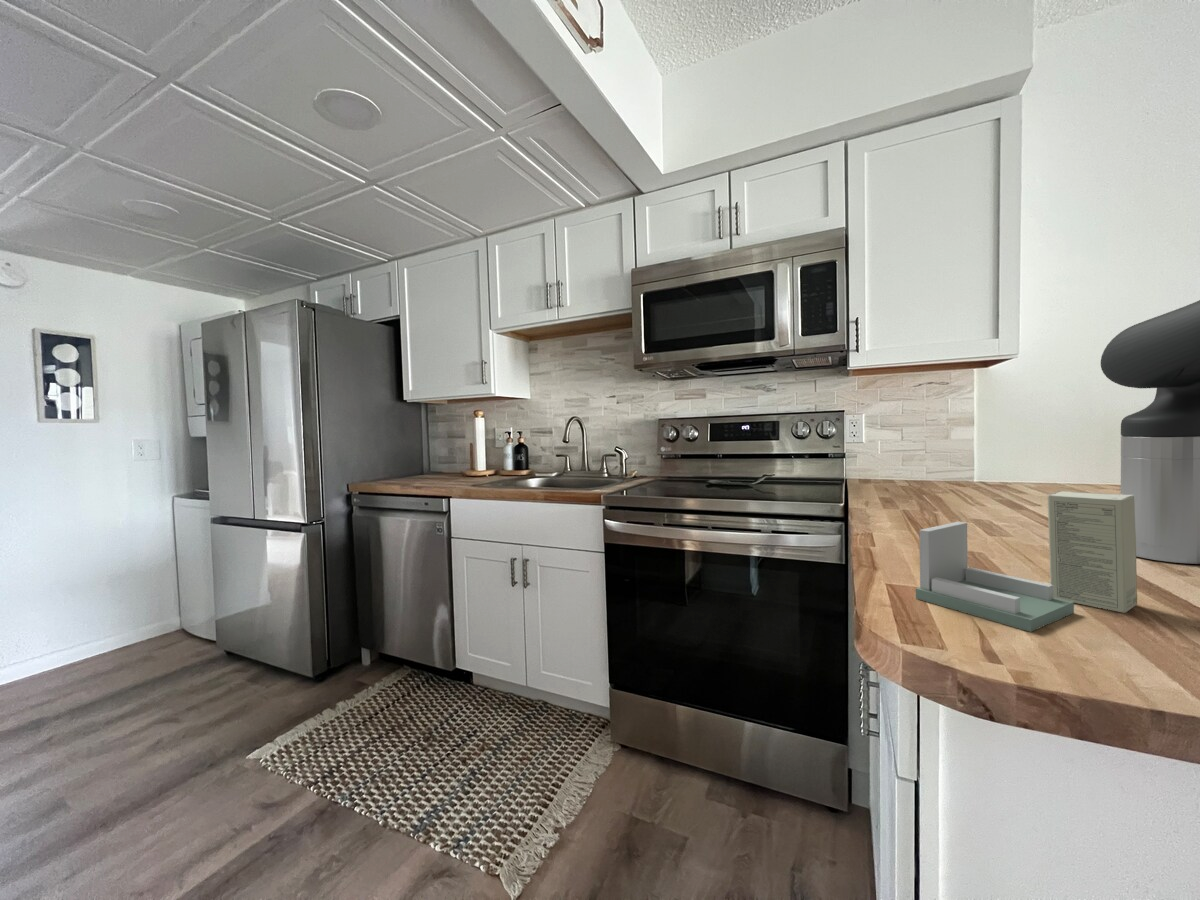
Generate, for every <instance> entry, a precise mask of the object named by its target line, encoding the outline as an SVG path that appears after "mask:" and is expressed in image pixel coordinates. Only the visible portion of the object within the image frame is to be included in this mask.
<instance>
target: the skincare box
mask: <svg viewBox="0 0 1200 900" xmlns="http://www.w3.org/2000/svg"><path fill="white" fill-rule="evenodd" d="M1046 497H1047V517H1048V518H1047V520H1048V522H1047V523H1048V544H1049V545H1048V546H1049V548H1048V549H1049V578H1050V581H1049V584H1051V585H1054V597H1055V598H1059V599H1063V600H1067V601H1072V602H1074V604H1079V605H1084V606H1089V607H1094V608H1097V607H1098V609H1101V608H1103V609H1102V610H1107V609H1108V611H1114V612H1119V613H1122V614H1123V613H1124V614H1125V613H1127V612H1128V611H1130V610H1131V609H1133V608H1135V606H1136V605H1138V582H1137V581H1138V576H1137V556H1136V531H1135V504H1134V495H1123V494H1121V493H1120V494H1119V493H1118V494H1117V493H1103V492H1102V493H1100V492H1099V493H1098V492H1083V491H1081V492H1080V491H1066V490H1063V491H1058V492H1054V493H1050V494H1047V495H1046Z"/></svg>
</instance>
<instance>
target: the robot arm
mask: <svg viewBox="0 0 1200 900" xmlns="http://www.w3.org/2000/svg"><path fill="white" fill-rule="evenodd" d="M1100 358H1101V359H1100V368H1101V371H1102V374H1103V375H1104V376H1105V377H1106V378H1107V379H1108V380H1110V382H1113V383H1114V384H1117V385H1120V386H1121V387H1127V388H1132V389H1133V388H1134V389H1156V390H1155V391H1156V393H1155V396H1154V399H1153V401H1152V402H1151V403H1150V404H1148V405H1147V406H1146V407H1145V408H1142V409H1140V410H1139V411H1136V412H1134V413H1131V414H1128V415H1126V416H1125V417H1124V418H1123V419H1121V422H1120V494H1123V495H1134V504H1135V531H1136V558H1137V557H1138V558H1143V559H1148V560H1154V561H1161V562H1166V563H1178V564H1196V565H1200V299H1199V300H1197V301H1195V302H1192V303H1189V304H1187V305H1185V306H1182V307H1179V308H1176V309H1174V310H1171V311H1168V312H1166V313H1163V314H1160V315H1157V316H1155V317H1152V318H1148V319H1147V320H1144V321H1141V322H1139V323H1135V324H1133V325H1131V326H1129V327H1127V328H1125V329H1124V330H1122V331H1120V332H1118V334H1117V335H1115V336H1114V337H1112V339H1111V340H1110V341H1109V342H1108V344H1107V345H1106V347H1105V348H1104V350H1103V352H1102V354H1101V357H1100Z"/></svg>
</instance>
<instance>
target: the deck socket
mask: <svg viewBox="0 0 1200 900" xmlns="http://www.w3.org/2000/svg"><path fill="white" fill-rule="evenodd" d="M918 531H919V532H918V534H919V587H916V588H915V599H916V600H920V601H923V602H927V603H930V604H934V605H937V606H941V607H944V608H948V609H951V610H954V611H957V610H959V611H958V612H960V613H964V612H965V613H964V614H967V613H968V615H971V616H975V617H978V618H982V619H985V620H989V621H992V622H995V623H999V624H1002V625H1006V626H1009V627H1012V628H1016V629H1019V630H1022V631H1027V632H1031V633H1032V632H1034V631H1036V630H1035V629H1037V628H1039V627H1041V628H1043V627H1044V626H1043V625H1046V624H1048V625H1050V624H1053V623H1055V622H1056V620H1057V621H1059V620H1061V618H1062V619H1064V618H1066V617H1068V616H1071V615H1073V614H1074V613H1075V603H1074V602H1072V601H1067V600H1063V599H1059V598H1055V597H1054V585H1051V584H1050V583H1045V582H1040V581H1036V580H1031V579H1028V578H1027V579H1026V578H1022V577H1017V576H1013V575H1008V574H1003V573H1000V572H993V571H989V570H985V569H979V568H976V567H968V565H969V564H968V522H965V521H954V522H950V523H946V524H941V525H936V526H932V527H927V528H922V529H919V530H918ZM1072 613H1073V614H1072ZM1070 614H1071V615H1070ZM1065 616H1066V617H1065ZM1063 617H1064V618H1063ZM1054 621H1055V622H1054ZM1052 622H1053V623H1052ZM1049 623H1050V624H1049ZM1042 626H1043V627H1042ZM1046 626H1047V625H1046ZM1039 629H1040V628H1039ZM1037 630H1038V629H1037Z"/></svg>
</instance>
